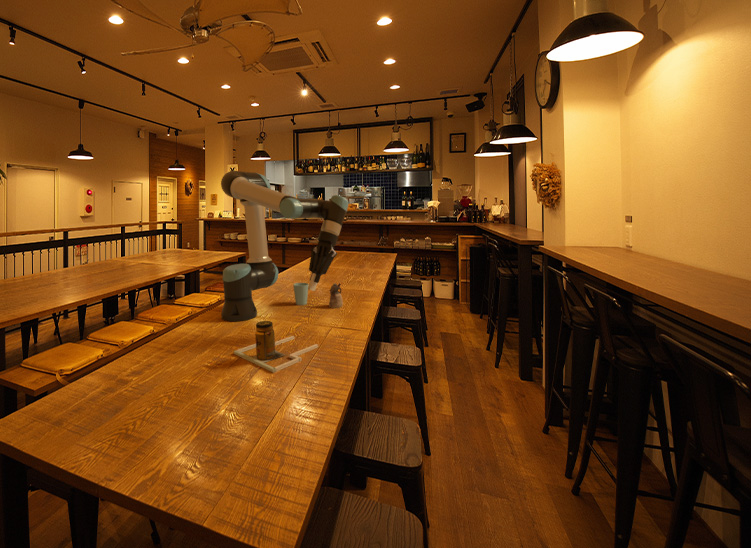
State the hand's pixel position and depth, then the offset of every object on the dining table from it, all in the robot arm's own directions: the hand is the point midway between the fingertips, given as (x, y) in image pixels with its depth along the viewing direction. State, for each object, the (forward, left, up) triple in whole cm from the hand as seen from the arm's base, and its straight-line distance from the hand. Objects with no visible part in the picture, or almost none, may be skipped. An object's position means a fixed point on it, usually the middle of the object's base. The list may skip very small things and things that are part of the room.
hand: (311, 290), depth 137 cm
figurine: (-20, +34, -18) cm, 43 cm away
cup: (-37, +26, -18) cm, 48 cm away
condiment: (+5, -24, -18) cm, 31 cm away
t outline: (+5, -20, -18) cm, 28 cm away
